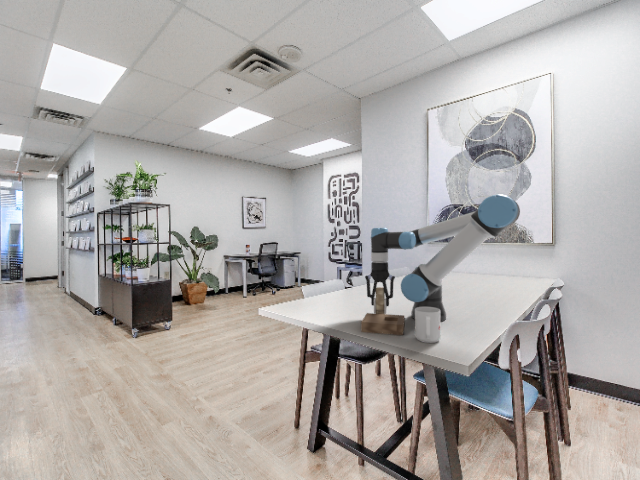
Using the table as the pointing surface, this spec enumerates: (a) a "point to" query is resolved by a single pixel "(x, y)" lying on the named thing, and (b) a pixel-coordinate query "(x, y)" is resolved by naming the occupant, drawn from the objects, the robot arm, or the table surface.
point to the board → (383, 324)
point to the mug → (427, 324)
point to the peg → (380, 300)
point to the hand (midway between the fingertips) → (380, 312)
